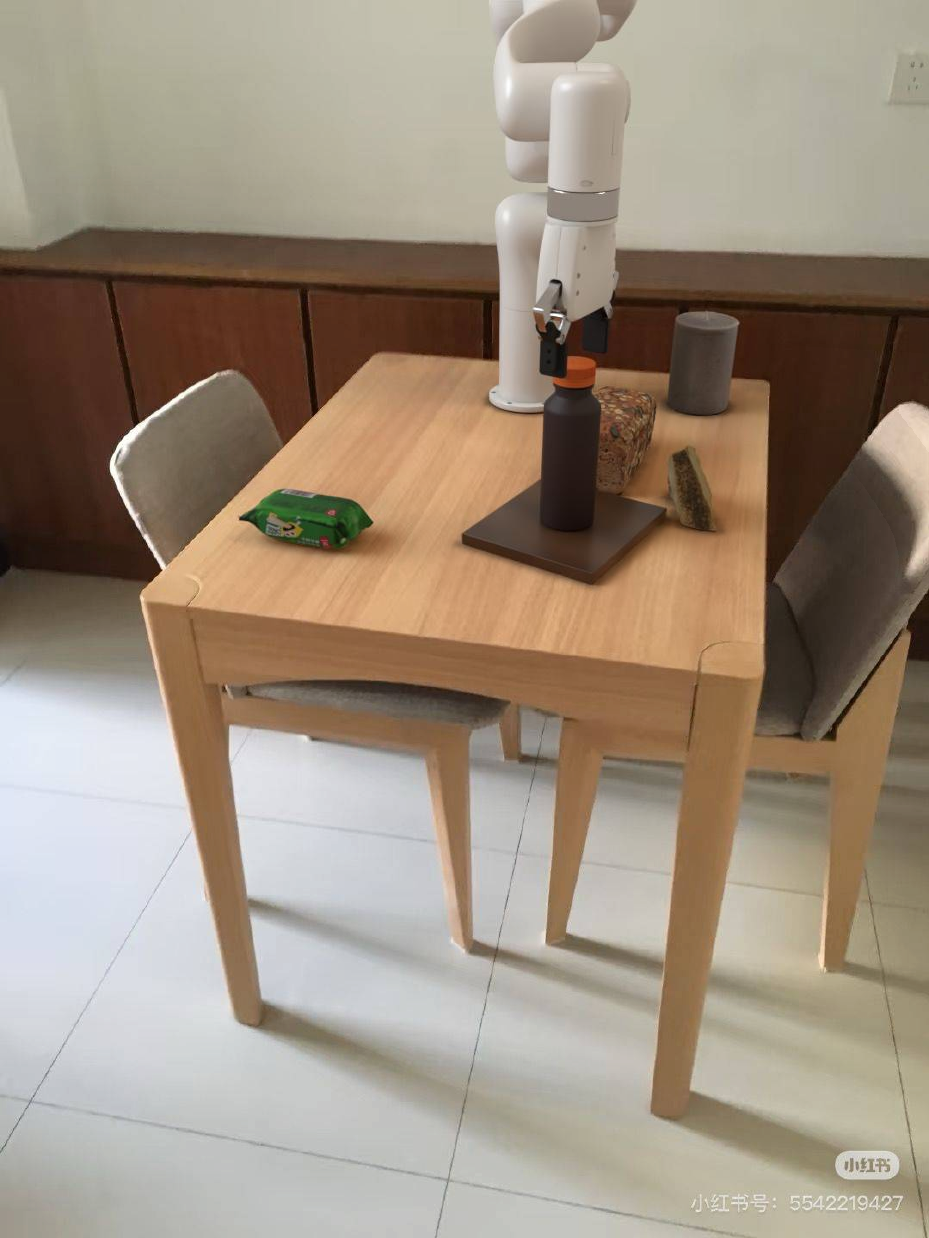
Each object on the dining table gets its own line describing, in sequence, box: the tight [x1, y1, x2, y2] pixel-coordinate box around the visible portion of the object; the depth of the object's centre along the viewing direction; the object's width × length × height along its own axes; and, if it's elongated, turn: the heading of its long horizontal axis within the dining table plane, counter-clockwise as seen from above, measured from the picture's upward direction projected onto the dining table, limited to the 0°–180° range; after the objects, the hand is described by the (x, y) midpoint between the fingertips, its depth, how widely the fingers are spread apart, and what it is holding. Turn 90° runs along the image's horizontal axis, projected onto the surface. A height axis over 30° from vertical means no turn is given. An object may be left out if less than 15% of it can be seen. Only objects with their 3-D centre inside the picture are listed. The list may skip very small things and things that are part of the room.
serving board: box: [461, 478, 668, 585], centre depth 128 cm, size 20×18×2 cm
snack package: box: [237, 488, 375, 550], centre depth 126 cm, size 7×16×5 cm, turn 70°
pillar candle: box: [666, 310, 740, 416], centre depth 161 cm, size 10×10×15 cm
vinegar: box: [540, 355, 601, 531], centre depth 122 cm, size 7×7×20 cm
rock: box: [667, 444, 718, 532], centre depth 131 cm, size 11×9×10 cm
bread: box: [592, 385, 658, 495], centre depth 142 cm, size 19×11×10 cm, turn 158°
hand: (574, 363), depth 117 cm, fingers open, 9 cm apart
